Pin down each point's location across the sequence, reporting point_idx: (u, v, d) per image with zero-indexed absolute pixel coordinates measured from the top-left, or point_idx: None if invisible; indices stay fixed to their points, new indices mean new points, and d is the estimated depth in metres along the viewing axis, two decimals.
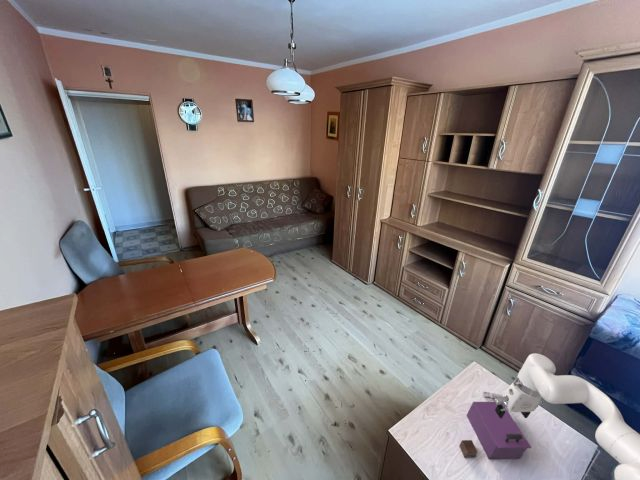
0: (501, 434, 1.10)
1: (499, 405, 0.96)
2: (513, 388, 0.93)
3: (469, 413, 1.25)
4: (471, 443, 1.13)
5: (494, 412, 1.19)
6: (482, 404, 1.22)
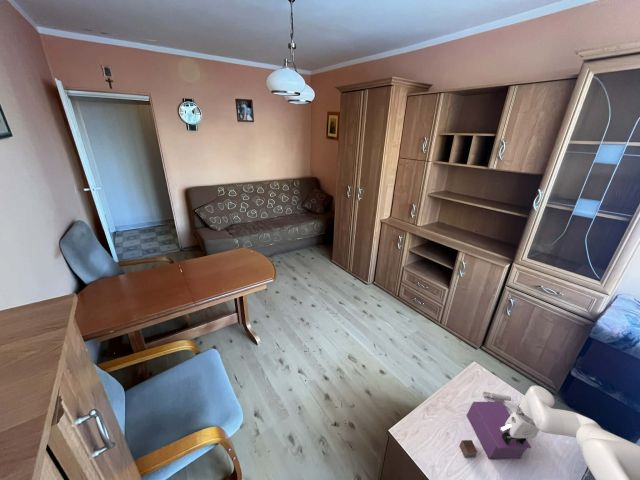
0: (501, 434, 1.10)
1: (505, 433, 1.04)
2: (515, 416, 1.01)
3: (469, 413, 1.25)
4: (471, 443, 1.13)
5: (494, 412, 1.19)
6: (482, 404, 1.22)
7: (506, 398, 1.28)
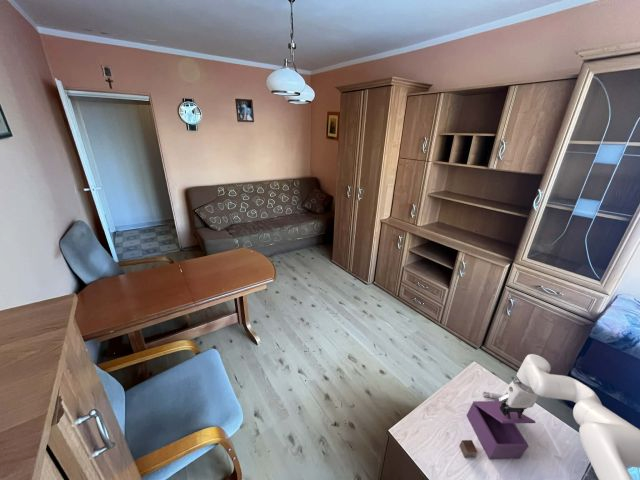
0: (503, 415, 1.09)
1: (503, 403, 1.06)
2: (513, 386, 1.03)
3: (469, 413, 1.25)
4: (471, 443, 1.13)
5: (494, 405, 1.18)
6: (482, 402, 1.22)
7: None
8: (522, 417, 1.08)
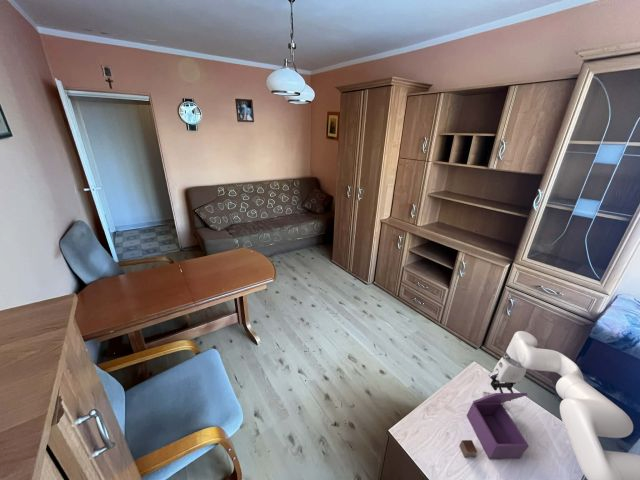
0: None
1: (493, 378, 1.11)
2: (502, 361, 1.08)
3: (469, 413, 1.25)
4: (471, 443, 1.13)
5: None
6: None
7: None
8: None
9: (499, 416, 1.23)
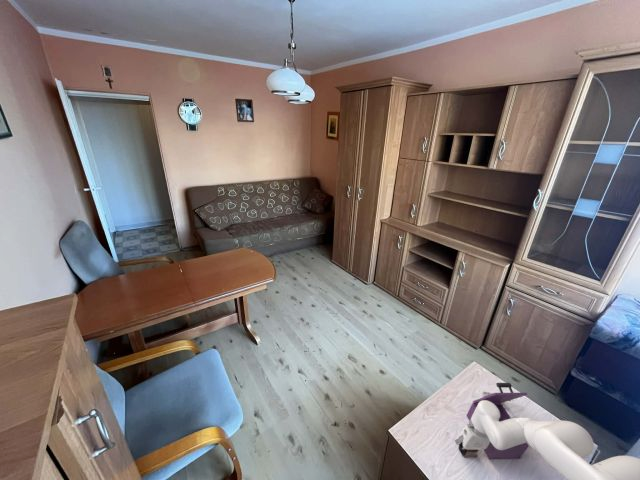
0: None
1: (460, 445, 1.10)
2: (467, 429, 1.06)
3: (469, 413, 1.25)
4: None
5: None
6: None
7: None
8: None
9: None
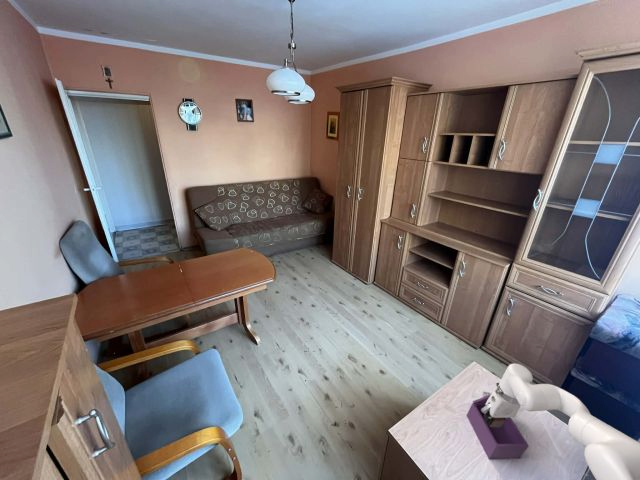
0: None
1: (486, 413, 1.03)
2: (495, 396, 1.00)
3: (469, 413, 1.25)
4: None
5: None
6: None
7: None
8: None
9: None
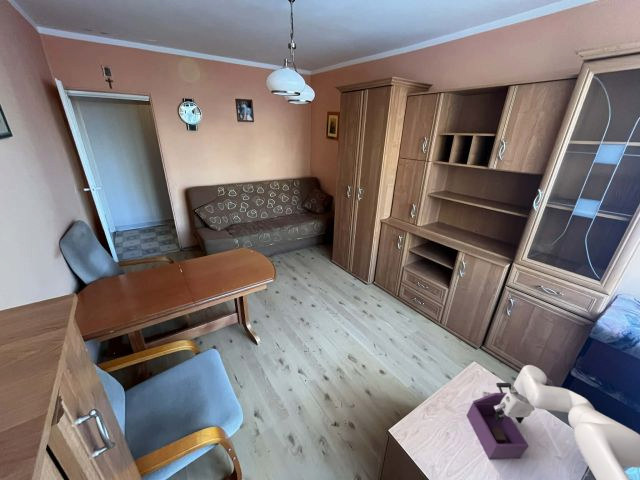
0: None
1: (498, 411, 1.07)
2: (509, 396, 1.04)
3: (469, 413, 1.25)
4: (499, 431, 1.16)
5: None
6: None
7: None
8: None
9: None
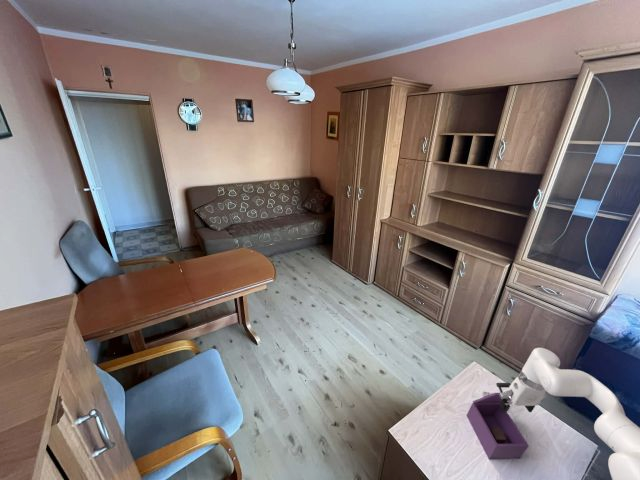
0: None
1: (504, 399, 0.97)
2: (518, 382, 0.94)
3: (469, 413, 1.25)
4: (499, 431, 1.16)
5: None
6: None
7: None
8: None
9: (499, 416, 1.23)
